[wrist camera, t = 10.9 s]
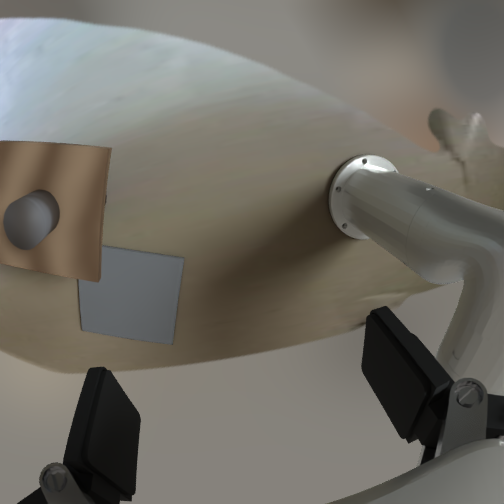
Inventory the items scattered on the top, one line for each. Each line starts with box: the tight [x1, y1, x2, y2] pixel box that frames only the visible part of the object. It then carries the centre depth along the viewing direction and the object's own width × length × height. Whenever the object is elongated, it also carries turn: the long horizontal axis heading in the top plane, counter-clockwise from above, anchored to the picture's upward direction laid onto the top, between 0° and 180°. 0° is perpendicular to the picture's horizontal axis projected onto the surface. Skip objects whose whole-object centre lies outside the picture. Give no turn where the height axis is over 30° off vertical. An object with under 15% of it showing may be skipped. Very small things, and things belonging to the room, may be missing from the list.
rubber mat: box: [78, 245, 184, 345], centre depth 40 cm, size 15×15×1 cm
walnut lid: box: [0, 141, 112, 283], centre depth 21 cm, size 13×13×5 cm
